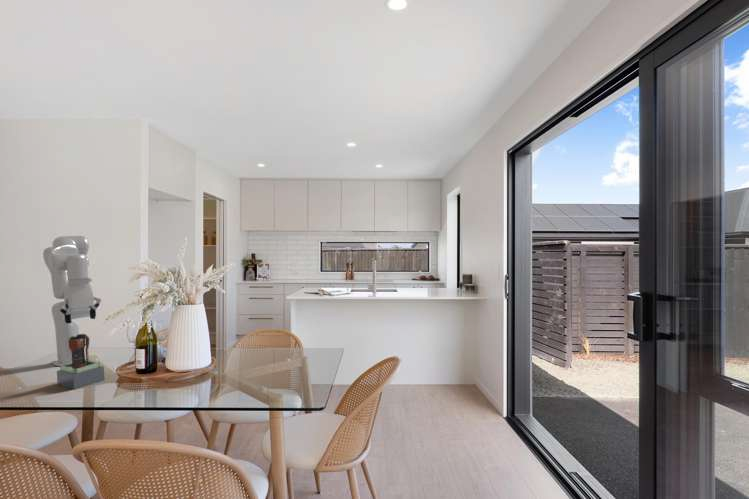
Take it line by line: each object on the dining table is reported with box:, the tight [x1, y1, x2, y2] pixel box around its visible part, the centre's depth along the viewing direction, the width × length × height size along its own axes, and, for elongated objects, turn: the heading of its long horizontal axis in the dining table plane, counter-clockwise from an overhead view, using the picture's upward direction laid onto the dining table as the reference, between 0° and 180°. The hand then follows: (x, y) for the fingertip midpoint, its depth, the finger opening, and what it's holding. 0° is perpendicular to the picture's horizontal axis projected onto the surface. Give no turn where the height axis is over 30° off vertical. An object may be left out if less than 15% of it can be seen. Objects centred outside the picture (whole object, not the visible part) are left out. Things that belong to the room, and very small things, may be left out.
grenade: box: [69, 333, 90, 368], centre depth 183 cm, size 6×8×15 cm
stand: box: [56, 359, 106, 390], centre depth 183 cm, size 14×12×8 cm
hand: (80, 320), depth 186 cm, fingers open, 9 cm apart
